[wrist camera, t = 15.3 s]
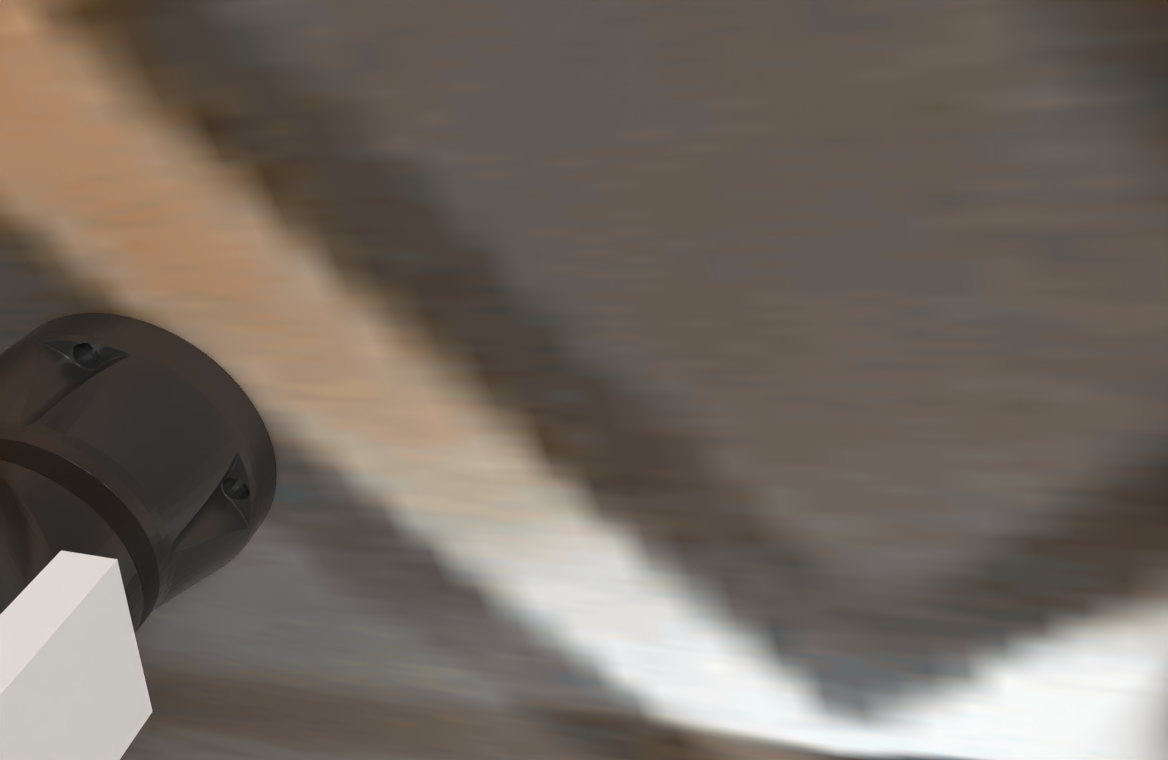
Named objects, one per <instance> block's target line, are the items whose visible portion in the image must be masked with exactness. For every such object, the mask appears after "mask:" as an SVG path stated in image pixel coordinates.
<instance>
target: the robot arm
mask: <svg viewBox="0 0 1168 760" xmlns="http://www.w3.org/2000/svg"><path fill="white" fill-rule="evenodd" d="M275 488H276V463H275V456H274V451H273V447H272V444H271V440H270V438H269V435H268V432H267V430H266V428H265V425H264V423H263V421H262V419H261V417H260V415H259V414H258V412H257V410H256V408H255V407H254V405H253V404H252V402H251V401H250V399H249V398H248V397H247V395H246V394H245V392H244V391H243V390H242V389H241V388H240V386H239V385H238V384H237V383H236V382H235V381H234V379H233V378H232V377H231V376H230V375H229V374H228V373H227V372H226V371H225V370H224V369H223V368H222V367H220V366H219V365H218V364H217V363H216V362H215V361H214V360H212V359H211V358H210V357H209V356H207V355H206V354H205V353H204V352H202V351H201V350H199V349H198V348H196V347H195V346H193V345H192V344H190V343H189V342H187V341H185V340H184V339H182V338H180V337H178V336H176V335H175V334H173V333H171V332H168V331H166V330H164V329H162V328H160V327H157V326H155V325H152V324H149V323H146V322H143V321H140V320H137V319H133V318H129V317H124V316H119V315H112V314H101V313H85V314H75V315H70V316H65V317H61V318H58V319H55V320H52V321H50V322H47V323H45V324H43V325H41V326H40V327H38V328H37V329H35V330H33V331H32V332H31V333H29V334H28V335H27V336H25V337H24V338H22V339H21V340H20V341H18V342H17V343H16V344H14V345H13V346H11V347H10V348H9V349H8V350H6V351H5V352H4V353H3V354H2V355H1V356H0V760H120V758H121V757H122V756H123V754H124V753H125V751H126V750H127V748H128V747H129V745H130V744H131V742H132V741H133V739H134V738H135V736H136V735H137V734H138V732H139V731H140V729H141V728H142V726H143V725H144V723H145V722H146V720H147V719H148V717H149V716H150V714H151V713H152V707H151V703H150V699H149V694H148V690H147V686H146V681H145V677H144V673H143V668H142V664H141V660H140V655H139V651H138V647H137V642H136V638H135V633H136V631H137V630H138V629H139V627H140V626H141V625H142V623H143V622H144V621H145V620H146V618H147V617H148V616H149V615H150V613H151V612H152V611H153V610H154V609H156V608H157V607H159V606H161V605H162V604H164V603H165V602H167V601H169V600H170V599H172V598H173V597H175V596H176V595H178V594H180V593H181V592H183V591H184V590H186V589H188V588H189V587H191V586H192V585H194V584H196V583H197V582H199V581H200V580H202V579H204V578H205V577H207V576H208V575H210V574H212V573H213V572H215V571H216V570H218V569H220V568H221V567H223V566H224V565H226V564H227V563H228V562H229V561H231V560H232V559H233V558H234V557H235V556H236V555H237V554H238V553H239V552H240V551H241V550H242V549H243V548H244V547H245V545H246V544H247V543H248V541H249V540H250V539H251V537H252V536H253V534H254V533H255V532H256V530H257V529H258V527H259V526H260V525H261V523H262V522H263V520H264V519H265V517H266V515H267V513H268V511H269V509H270V507H271V504H272V501H273V498H274V494H275Z"/></svg>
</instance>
